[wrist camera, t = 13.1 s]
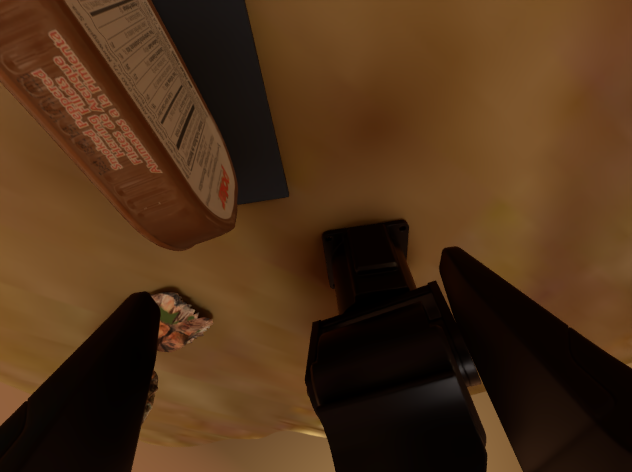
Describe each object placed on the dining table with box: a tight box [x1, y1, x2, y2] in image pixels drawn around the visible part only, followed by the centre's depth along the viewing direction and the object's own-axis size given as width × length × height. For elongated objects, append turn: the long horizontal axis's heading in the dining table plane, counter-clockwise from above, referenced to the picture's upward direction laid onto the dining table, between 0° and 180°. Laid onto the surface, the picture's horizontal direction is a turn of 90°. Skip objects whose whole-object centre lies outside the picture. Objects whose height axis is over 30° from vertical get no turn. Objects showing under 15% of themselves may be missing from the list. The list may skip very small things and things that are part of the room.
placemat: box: [151, 0, 289, 205], centre depth 16 cm, size 20×10×1 cm, turn 7°
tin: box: [0, 0, 238, 251], centre depth 13 cm, size 15×3×8 cm, turn 17°
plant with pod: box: [141, 292, 213, 425], centre depth 23 cm, size 8×11×20 cm
